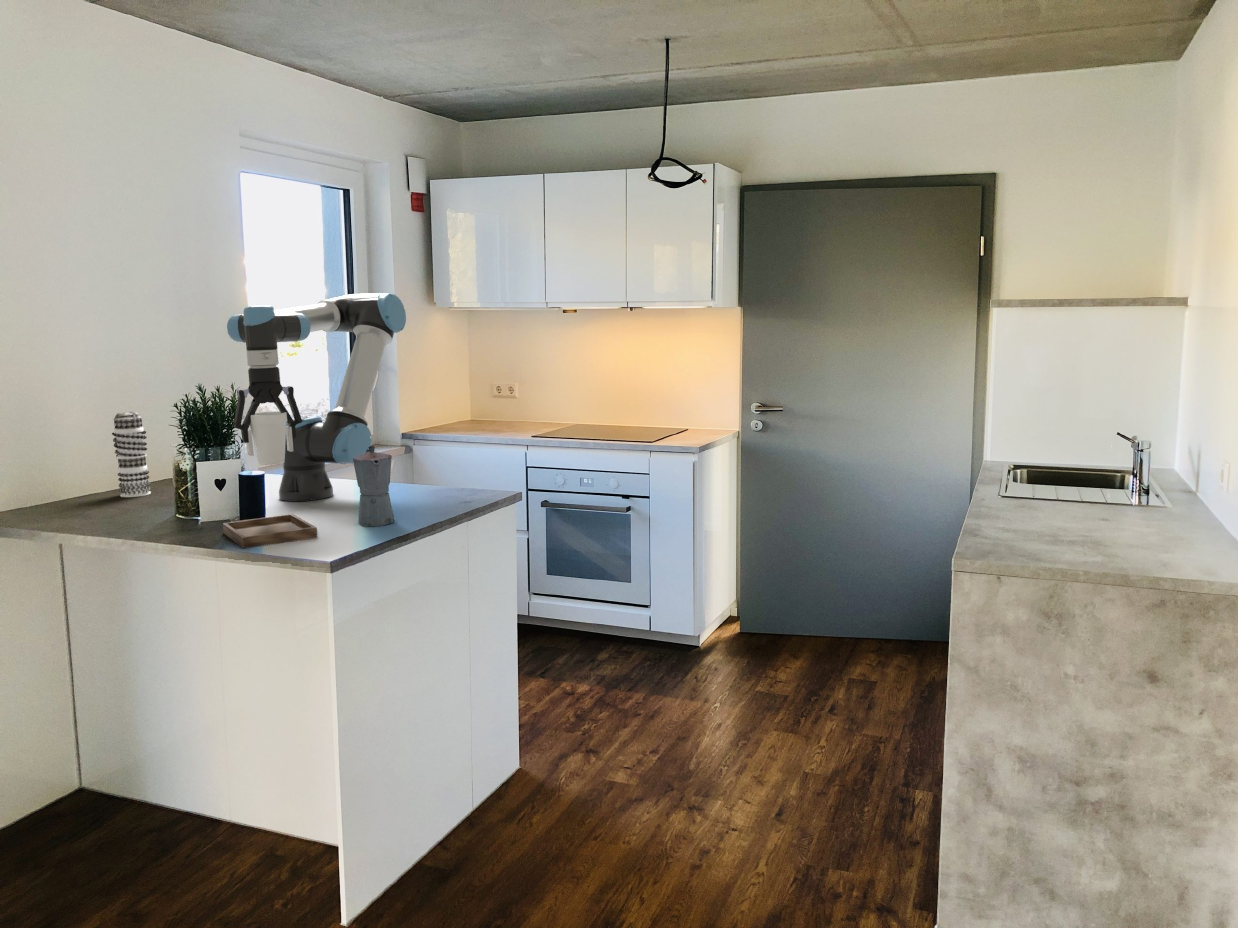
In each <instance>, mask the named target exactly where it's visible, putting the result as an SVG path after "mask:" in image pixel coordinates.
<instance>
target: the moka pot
mask: <svg viewBox="0 0 1238 928" xmlns="http://www.w3.org/2000/svg"><path fill="white" fill-rule="evenodd" d="M368 448H369V450H368V449H367V450H366V453H365V454H362V455H358V456H356V457H355V458H353V462H354V463H353V467H354V472H355V477H356V482H357V486H358V488H359V494H360V496H359V505H358V519H357V523H358V524H359V525H360V526H363V527H382V526H387V525H390V524H392V523H394V522H395V516H394V510H393V506H392V502H391V496H390V493H389V491H390V488H389V487H390V484H391V471H392V459H393V458H392V455H391V454H388V453H383V452H377V451H376V452H375V445H371V446H370V447H368Z"/></svg>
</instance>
